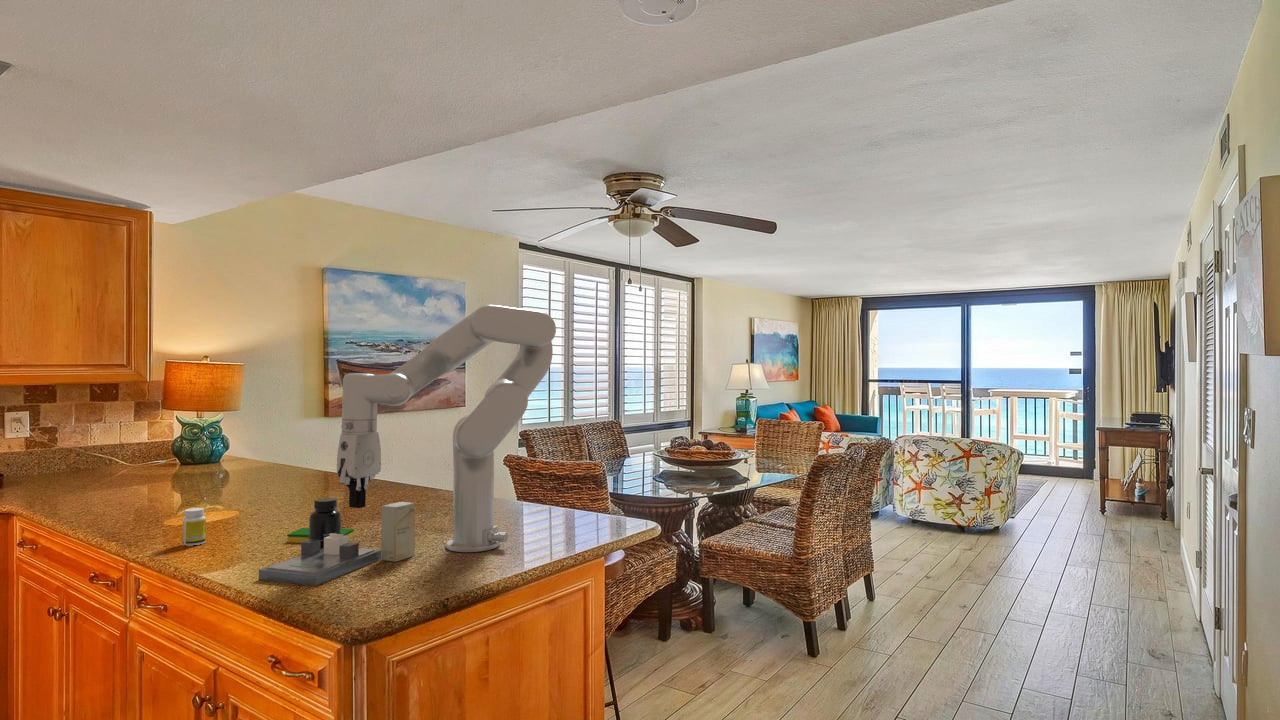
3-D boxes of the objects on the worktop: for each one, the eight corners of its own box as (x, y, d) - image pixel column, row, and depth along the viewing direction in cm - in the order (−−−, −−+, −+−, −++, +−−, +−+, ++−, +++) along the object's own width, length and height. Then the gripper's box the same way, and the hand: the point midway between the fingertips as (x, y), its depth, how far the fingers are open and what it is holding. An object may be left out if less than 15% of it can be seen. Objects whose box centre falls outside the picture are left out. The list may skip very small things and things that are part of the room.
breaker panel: (381, 559, 156) (381, 536, 156) (315, 586, 137) (315, 560, 137) (329, 554, 160) (329, 531, 160) (258, 579, 141) (258, 554, 141)
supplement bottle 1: (210, 542, 170) (210, 508, 170) (190, 547, 166) (190, 512, 166) (197, 540, 172) (197, 506, 172) (178, 545, 168) (178, 510, 168)
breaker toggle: (348, 552, 153) (348, 533, 153) (339, 555, 150) (339, 536, 150) (333, 550, 154) (333, 532, 154) (323, 554, 151) (323, 535, 151)
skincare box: (395, 562, 153) (395, 507, 153) (380, 560, 155) (380, 505, 155) (415, 555, 159) (415, 502, 159) (400, 553, 161) (401, 500, 161)
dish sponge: (341, 545, 170) (341, 535, 170) (286, 544, 171) (286, 534, 171) (354, 537, 177) (354, 528, 177) (302, 536, 178) (302, 527, 178)
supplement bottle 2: (328, 555, 158) (328, 503, 159) (302, 554, 160) (302, 501, 160) (347, 548, 165) (347, 497, 165) (321, 546, 167) (321, 496, 167)
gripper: (350, 430, 151) (348, 514, 151) (393, 425, 165) (391, 502, 165) (322, 428, 153) (319, 512, 153) (367, 424, 168) (365, 500, 167)
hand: (357, 506), depth 159 cm, fingers closed
